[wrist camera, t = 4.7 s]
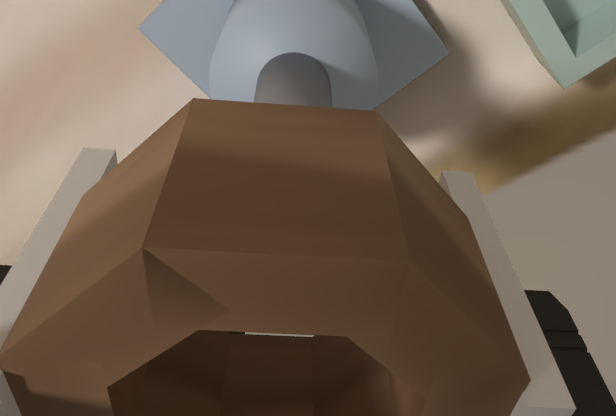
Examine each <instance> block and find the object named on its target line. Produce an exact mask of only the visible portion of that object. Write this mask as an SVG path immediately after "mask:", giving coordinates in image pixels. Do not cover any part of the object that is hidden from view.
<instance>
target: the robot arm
mask: <svg viewBox="0 0 616 416" xmlns="http://www.w3.org/2000/svg"><path fill="white" fill-rule="evenodd" d="M117 165H118V164H117V157H116V151H115V150H108V149H92V148H83V149H82V151H81V153H80V154H79V156H78V158H77V159H76V161H75V163H74V164H73V166H72V168H71V169H70V171H69V173H68V174H67V176H66V178H65V179H64V181H63V183H62V184H61V186H60V188H59V189H58V191H57V192H56V194H55V196H54V197H53V199H52V201H51V202H50V204H49V206H48V207H47V209H46V211H45V212H44V214H43V216H42V217H41V219H40V221H39V222H38V224H37V226H36V227H35V229H34V231H33V232H32V234H31V236H30V237H29V239H28V241H27V242H26V244H25V246H24V247H23V249H22V250H21V252H20V254H19V255H18V257H17V259H16V260H15V262H14V264H13V265H12V266H7V265H0V349H1V347H2V345H3V343H4V341H5V340H6V338H7V336H8V334H9V332H10V330H11V328H12V327H13V325H14V323H15V321H16V319H17V317H18V315H19V313H20V312H21V310H22V308H23V306H24V304H25V302H26V300H27V298H28V297H29V295H30V293H31V291H32V289H33V287H34V285H35V284H36V282H37V280H38V278H39V276H40V274H41V272H42V270H43V269H44V267H45V265H46V263H47V261H48V259H49V257H50V255H51V254H52V252H53V250H54V248H55V246H56V244H57V242H58V241H59V239H60V237H61V235H62V233H63V231H64V229H65V227H66V226H67V224H68V222H69V220H70V218H71V216H72V214H73V212H74V211H75V209H76V207H77V205H78V203H79V201H80V199H81V198H82V196H83V195H84V194H85V193H86V192H87V191H88V190H89V189H90V188H92V187H93V186H94V185H95V184H96V183H97V182H98V181H100V180H101V179H102V178H103V177H104V176H105V175H106V174H108V173H109V172H110V171H111V170H112V169H113V168H114V167H116V166H117ZM439 185H440V186H441V187H442V188H443V189H444V190H445V192H446V193H447V194H448V195H449V196H450V197H451V199H452V200H453V201H454V202H455V203H456V204H457V206H458V207H459V208H460V209H461V210H462V211H463V213H464V214H465V215H466V216H467V217H468V219H469V222H470V224H471V227H472V229H473V232H474V235H475V237H476V240H477V242H478V245H479V248H480V250H481V253H482V255H483V258H484V260H485V263H486V266H487V268H488V271H489V273H490V276H491V278H492V281H493V284H494V286H495V289H496V291H497V294H498V296H499V299H500V302H501V304H502V307H503V309H504V312H505V315H506V317H507V320H508V322H509V325H510V327H511V330H512V333H513V335H514V338H515V340H516V343H517V345H518V348H519V351H520V353H521V356H522V358H523V361H524V364H525V366H526V369H527V371H528V374H529V376H530V379H531V381H530V383H529V384H528V386H527V388H526V390H525V391H523V393H522V395H521V396H520V398H519V400H518V402H517V404H516V405H515V407H514V409H513V411H512V413H511V414H510V416H616V404H615V402H614V400H613V398H612V396H611V394H610V392H609V390H608V388H607V386H606V384H605V382H604V380H603V378H602V376H601V374H600V373H599V370H598V368H597V367H596V364H595V363H594V360H593V359H592V357H591V355H590V353H588V352H587V347H586V345H585V343H584V341H583V339H582V337H581V336H580V335H578V329H577V327H576V325H575V323H574V321H573V319H572V318H571V315H570V313H569V311H568V310H567V309H566V308H565V307H564V306H563V305H562V304H561V303H560V302H559V301H558V300H557V299H556V298H555V297H554V296H553V295H552V294H551V293H550V292H549V291H533V290H524V289H523V287H522V285H521V282H520V280H519V278H518V276H517V273H516V271H515V269H514V267H513V264H512V262H511V260H510V258H509V255H508V253H507V251H506V249H505V246H504V244H503V242H502V240H501V237H500V235H499V233H498V231H497V228H496V226H495V224H494V222H493V219H492V217H491V215H490V213H489V211H488V208H487V206H486V204H485V201H484V199H483V197H482V194H481V192H480V190H479V188H478V185H477V183H476V181H475V179H474V176H473V174H472V172H459V171H443V170H442V173H441V176H440V180H439ZM0 416H22V415H21V413H20V411H19V408H18V406H17V404H16V401H15V399H14V397H13V394H12V392H11V390H10V388H9V385H8V383H7V381H6V378H5V376H4V374H3V371H1V370H0Z"/></svg>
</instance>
